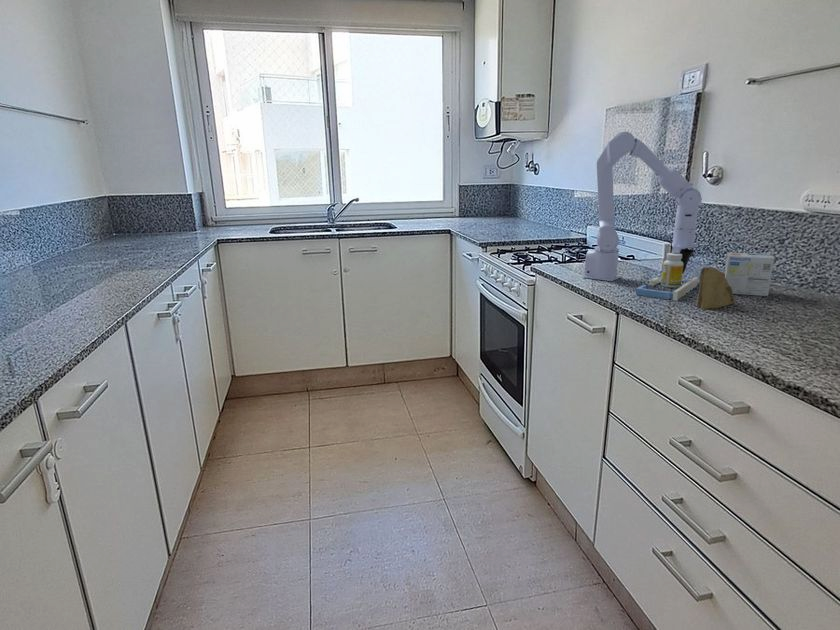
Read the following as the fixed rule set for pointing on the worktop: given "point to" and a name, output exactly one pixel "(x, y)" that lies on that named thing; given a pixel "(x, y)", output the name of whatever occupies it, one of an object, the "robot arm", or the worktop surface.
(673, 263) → the supplement bottle
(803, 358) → the worktop surface
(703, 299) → the rock
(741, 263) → the light bulb box
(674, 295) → the channel
